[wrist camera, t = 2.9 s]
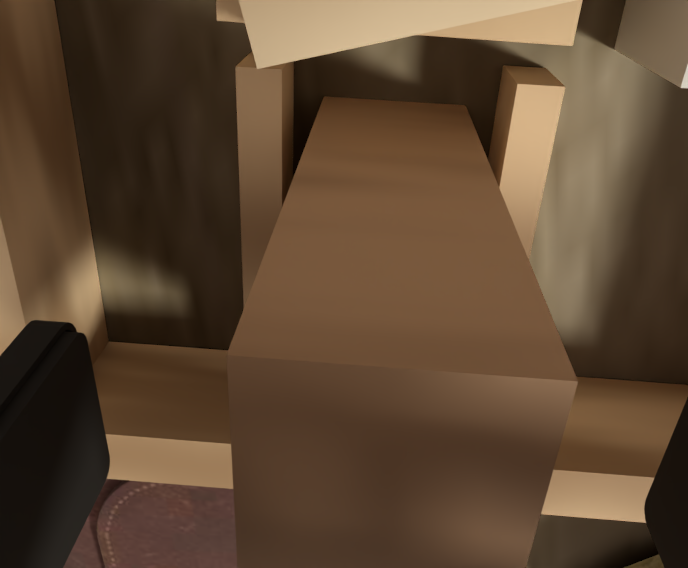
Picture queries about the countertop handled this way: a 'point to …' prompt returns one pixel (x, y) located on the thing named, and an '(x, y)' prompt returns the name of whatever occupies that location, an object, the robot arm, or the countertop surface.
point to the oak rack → (256, 229)
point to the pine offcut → (358, 23)
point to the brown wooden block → (394, 357)
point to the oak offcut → (486, 24)
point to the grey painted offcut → (656, 37)
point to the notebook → (157, 527)
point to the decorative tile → (648, 563)
